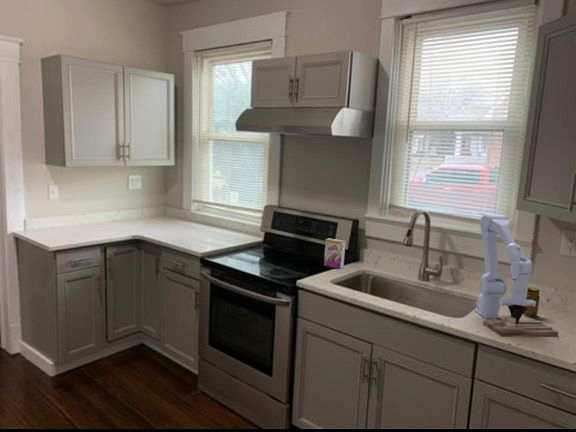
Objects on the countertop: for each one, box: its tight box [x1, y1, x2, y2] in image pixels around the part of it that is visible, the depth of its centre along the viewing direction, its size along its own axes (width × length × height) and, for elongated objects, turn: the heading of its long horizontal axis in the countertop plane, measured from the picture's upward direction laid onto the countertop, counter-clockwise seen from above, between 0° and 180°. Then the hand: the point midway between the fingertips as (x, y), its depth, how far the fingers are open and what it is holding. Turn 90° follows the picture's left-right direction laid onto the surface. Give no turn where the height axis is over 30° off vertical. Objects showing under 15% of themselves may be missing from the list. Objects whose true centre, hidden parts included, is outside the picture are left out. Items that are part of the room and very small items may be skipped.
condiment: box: [522, 286, 545, 320], centre depth 193 cm, size 7×8×12 cm
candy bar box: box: [323, 238, 346, 270], centre depth 259 cm, size 11×5×16 cm, turn 59°
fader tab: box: [500, 314, 516, 327], centre depth 175 cm, size 4×3×4 cm
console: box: [483, 320, 559, 337], centre depth 176 cm, size 12×24×2 cm, turn 98°
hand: (514, 322), depth 175 cm, fingers closed
